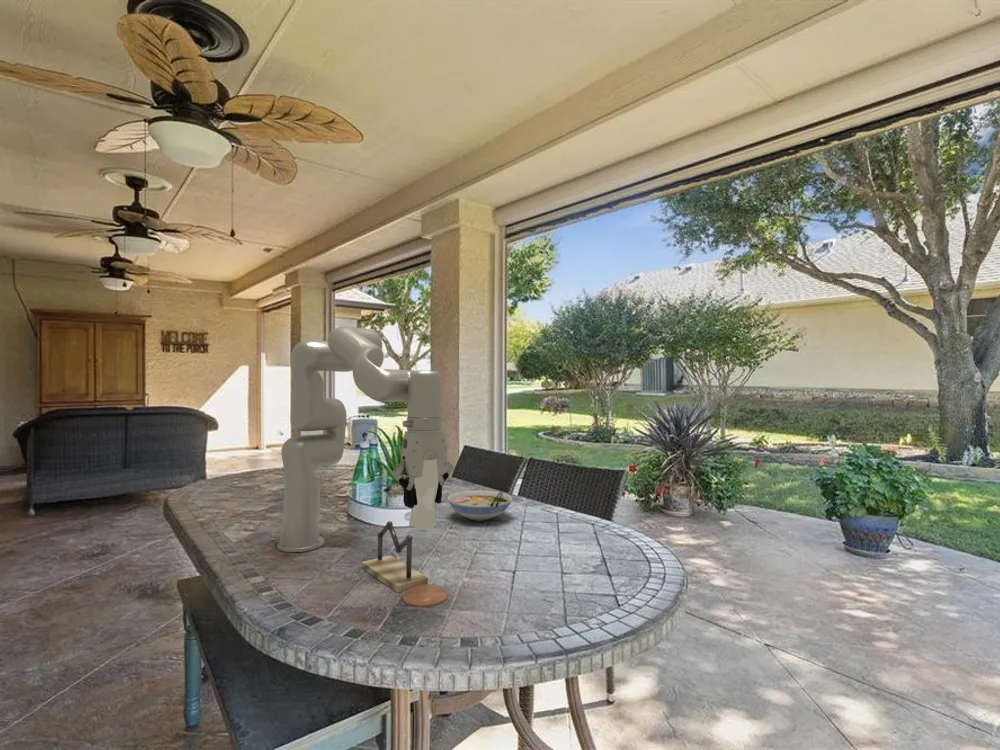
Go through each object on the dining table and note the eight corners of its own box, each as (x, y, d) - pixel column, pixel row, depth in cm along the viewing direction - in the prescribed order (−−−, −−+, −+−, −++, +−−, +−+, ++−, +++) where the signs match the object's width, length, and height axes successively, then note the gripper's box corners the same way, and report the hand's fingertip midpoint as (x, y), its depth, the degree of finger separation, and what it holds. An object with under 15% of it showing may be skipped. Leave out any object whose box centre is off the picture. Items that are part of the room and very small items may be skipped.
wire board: (361, 567, 127) (361, 561, 127) (390, 561, 132) (390, 555, 132) (397, 592, 113) (397, 586, 113) (427, 584, 118) (427, 577, 118)
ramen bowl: (455, 507, 189) (456, 486, 189) (515, 511, 186) (516, 489, 186) (438, 526, 164) (439, 501, 164) (507, 530, 161) (508, 505, 161)
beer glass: (432, 530, 108) (433, 461, 109) (402, 527, 110) (403, 459, 110) (442, 521, 115) (443, 456, 115) (413, 519, 117) (414, 455, 117)
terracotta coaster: (396, 605, 107) (396, 602, 107) (409, 586, 116) (409, 583, 116) (442, 607, 106) (442, 605, 106) (451, 588, 116) (451, 585, 116)
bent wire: (375, 559, 128) (376, 516, 129) (381, 557, 129) (382, 515, 130) (407, 579, 116) (408, 532, 116) (413, 577, 117) (413, 531, 117)
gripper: (397, 428, 104) (396, 514, 104) (465, 424, 115) (463, 502, 115) (381, 425, 110) (380, 507, 110) (447, 422, 121) (445, 496, 121)
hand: (423, 503), depth 113 cm, fingers closed on beer glass, 6 cm apart
